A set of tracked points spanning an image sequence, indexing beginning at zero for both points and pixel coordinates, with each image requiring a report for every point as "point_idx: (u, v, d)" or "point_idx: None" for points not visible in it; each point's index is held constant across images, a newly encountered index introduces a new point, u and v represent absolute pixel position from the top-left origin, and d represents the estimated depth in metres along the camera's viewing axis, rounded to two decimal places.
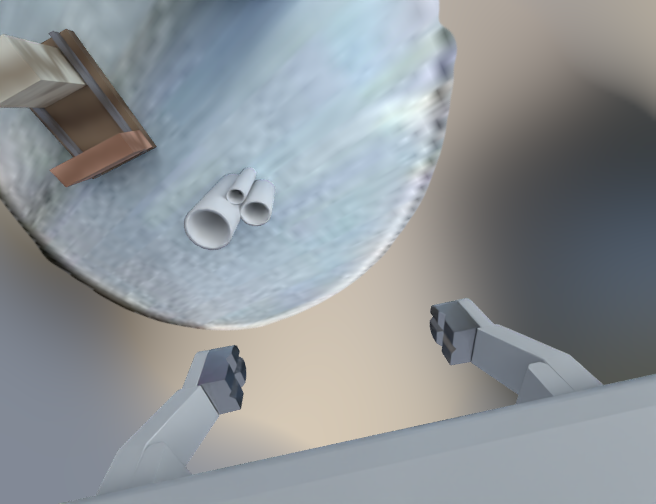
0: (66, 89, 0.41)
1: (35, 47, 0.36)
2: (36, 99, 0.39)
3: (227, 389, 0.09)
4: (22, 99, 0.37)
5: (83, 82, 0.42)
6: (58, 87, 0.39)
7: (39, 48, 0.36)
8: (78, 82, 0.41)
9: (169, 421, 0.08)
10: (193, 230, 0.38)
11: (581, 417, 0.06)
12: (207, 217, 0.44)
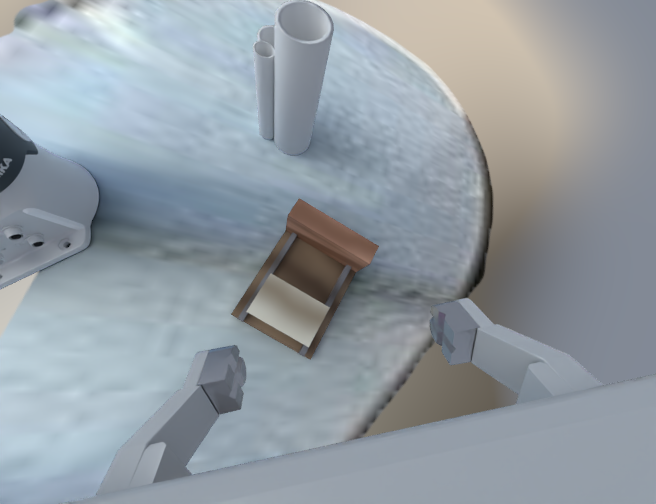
0: None
1: None
2: None
3: (227, 389, 0.09)
4: None
5: None
6: None
7: None
8: None
9: (169, 421, 0.08)
10: None
11: (581, 417, 0.06)
12: None
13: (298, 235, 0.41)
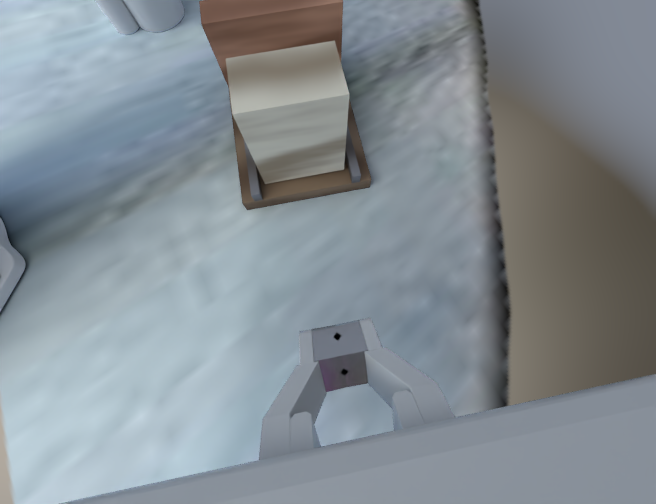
0: None
1: None
2: None
3: (340, 366, 0.09)
4: None
5: None
6: None
7: None
8: None
9: (301, 393, 0.08)
10: None
11: (581, 417, 0.06)
12: None
13: None
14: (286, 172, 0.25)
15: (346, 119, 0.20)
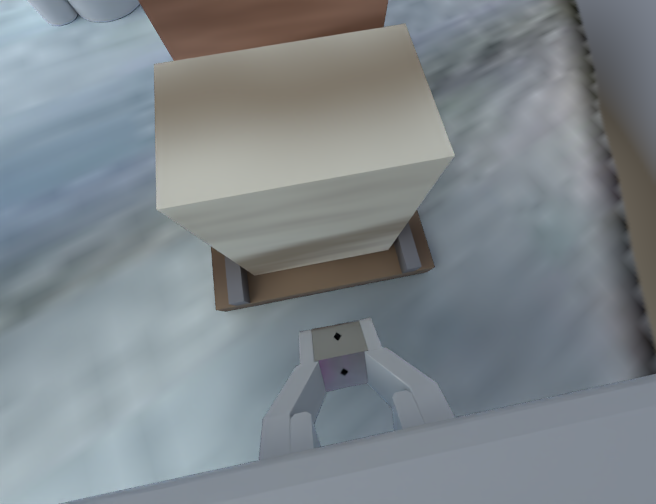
0: None
1: None
2: None
3: (340, 366, 0.09)
4: None
5: None
6: None
7: None
8: None
9: (301, 393, 0.08)
10: None
11: (581, 417, 0.06)
12: None
13: None
14: (291, 262, 0.14)
15: (424, 196, 0.09)
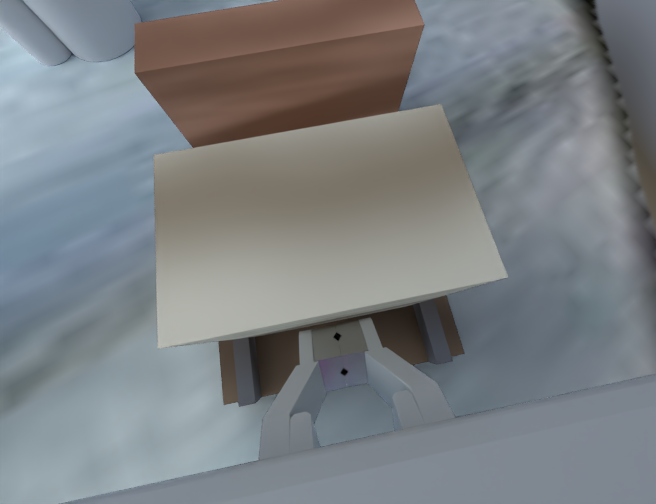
0: None
1: None
2: None
3: (340, 366, 0.09)
4: None
5: None
6: None
7: None
8: None
9: (301, 393, 0.08)
10: None
11: (581, 417, 0.06)
12: None
13: None
14: None
15: (459, 290, 0.08)
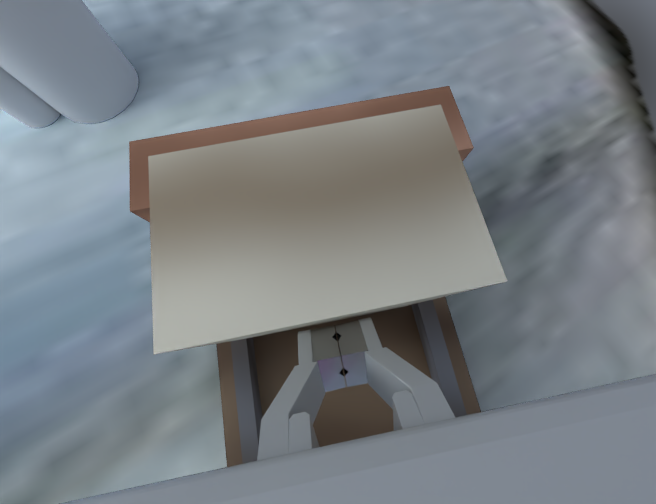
0: None
1: None
2: None
3: (339, 366, 0.09)
4: None
5: None
6: None
7: None
8: None
9: (300, 393, 0.08)
10: None
11: (581, 417, 0.06)
12: None
13: None
14: None
15: (458, 292, 0.08)
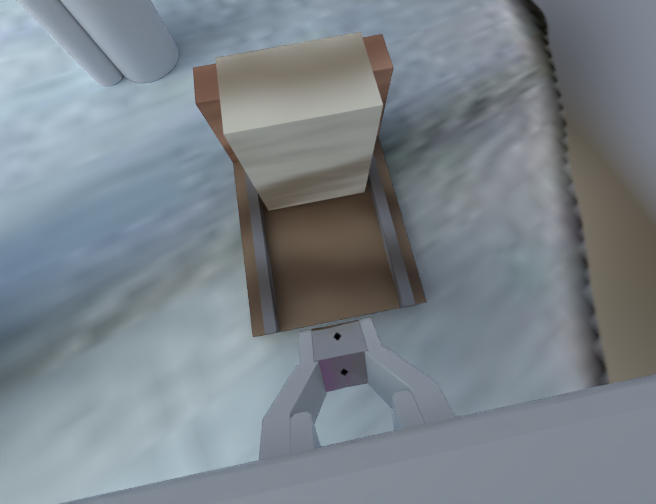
0: None
1: None
2: None
3: (340, 366, 0.09)
4: None
5: None
6: None
7: None
8: None
9: (301, 393, 0.08)
10: None
11: (581, 417, 0.06)
12: None
13: None
14: (294, 197, 0.21)
15: (374, 136, 0.15)
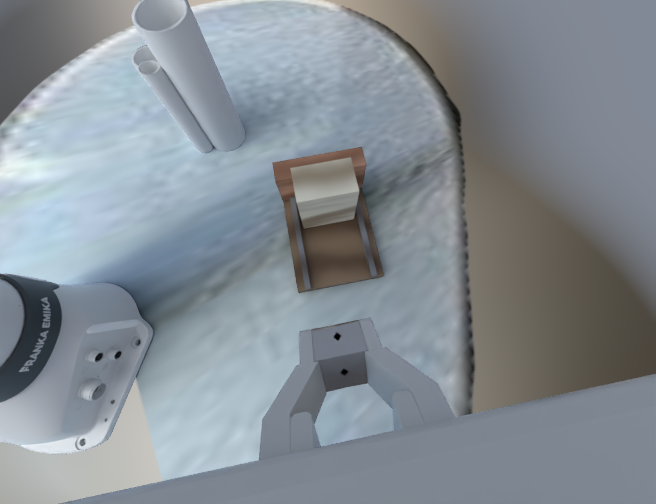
0: None
1: None
2: None
3: (340, 366, 0.09)
4: None
5: None
6: None
7: None
8: None
9: (301, 393, 0.08)
10: None
11: (581, 417, 0.06)
12: None
13: None
14: (318, 222, 0.41)
15: (357, 199, 0.36)
